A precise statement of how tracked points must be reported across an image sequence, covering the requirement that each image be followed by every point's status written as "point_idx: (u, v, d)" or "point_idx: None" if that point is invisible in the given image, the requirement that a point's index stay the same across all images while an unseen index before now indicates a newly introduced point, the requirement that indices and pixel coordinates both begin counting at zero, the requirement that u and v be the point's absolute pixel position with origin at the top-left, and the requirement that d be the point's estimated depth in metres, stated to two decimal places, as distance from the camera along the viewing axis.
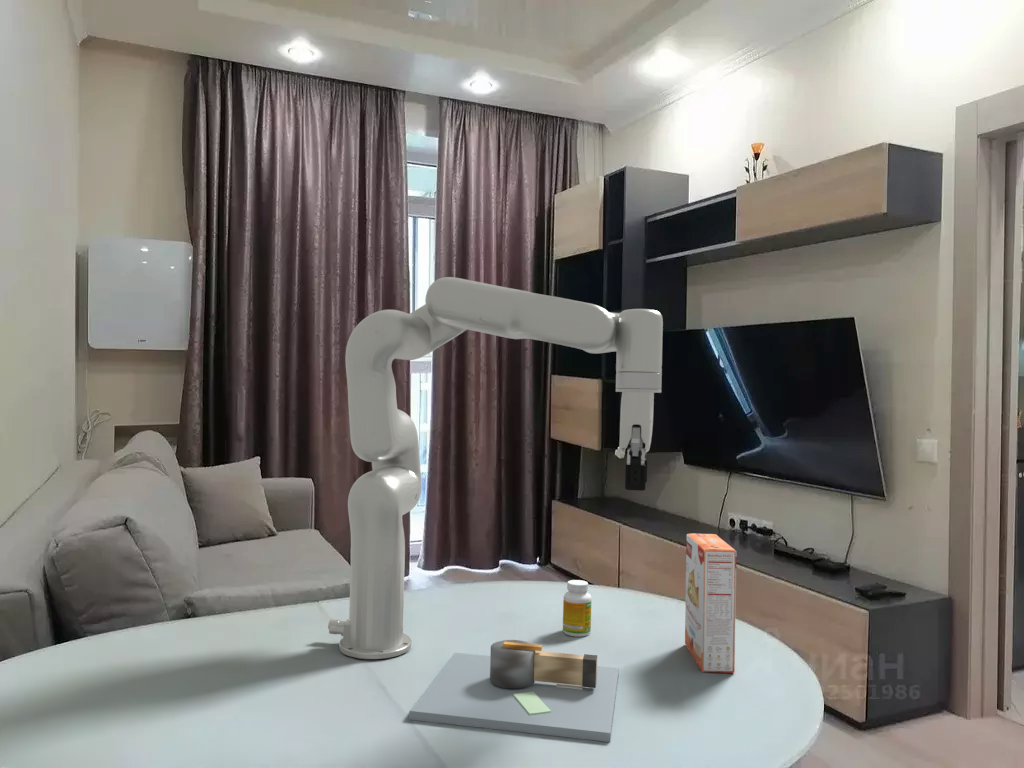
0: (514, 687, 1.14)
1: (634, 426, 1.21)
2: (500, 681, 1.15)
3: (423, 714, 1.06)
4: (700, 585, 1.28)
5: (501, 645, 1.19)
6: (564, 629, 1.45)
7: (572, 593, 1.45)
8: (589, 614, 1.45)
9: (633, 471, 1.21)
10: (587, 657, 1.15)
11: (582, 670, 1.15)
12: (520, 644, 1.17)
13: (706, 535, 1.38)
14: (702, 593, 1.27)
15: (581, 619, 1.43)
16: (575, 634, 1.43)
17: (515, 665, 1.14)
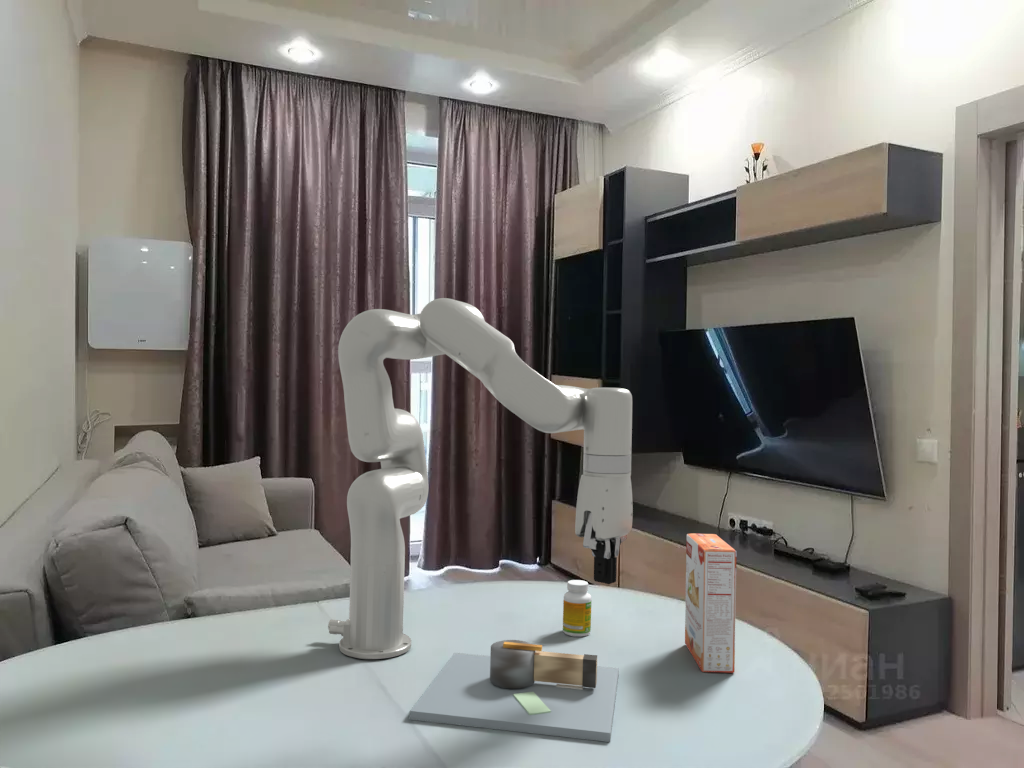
0: (514, 687, 1.14)
1: (588, 519, 1.16)
2: (500, 681, 1.15)
3: (423, 714, 1.06)
4: (700, 585, 1.28)
5: (501, 645, 1.19)
6: (564, 629, 1.45)
7: (572, 593, 1.45)
8: (589, 614, 1.45)
9: (598, 563, 1.19)
10: (587, 657, 1.15)
11: (582, 670, 1.15)
12: (520, 644, 1.17)
13: (706, 535, 1.38)
14: (702, 593, 1.27)
15: (581, 619, 1.43)
16: (575, 634, 1.43)
17: (515, 665, 1.14)
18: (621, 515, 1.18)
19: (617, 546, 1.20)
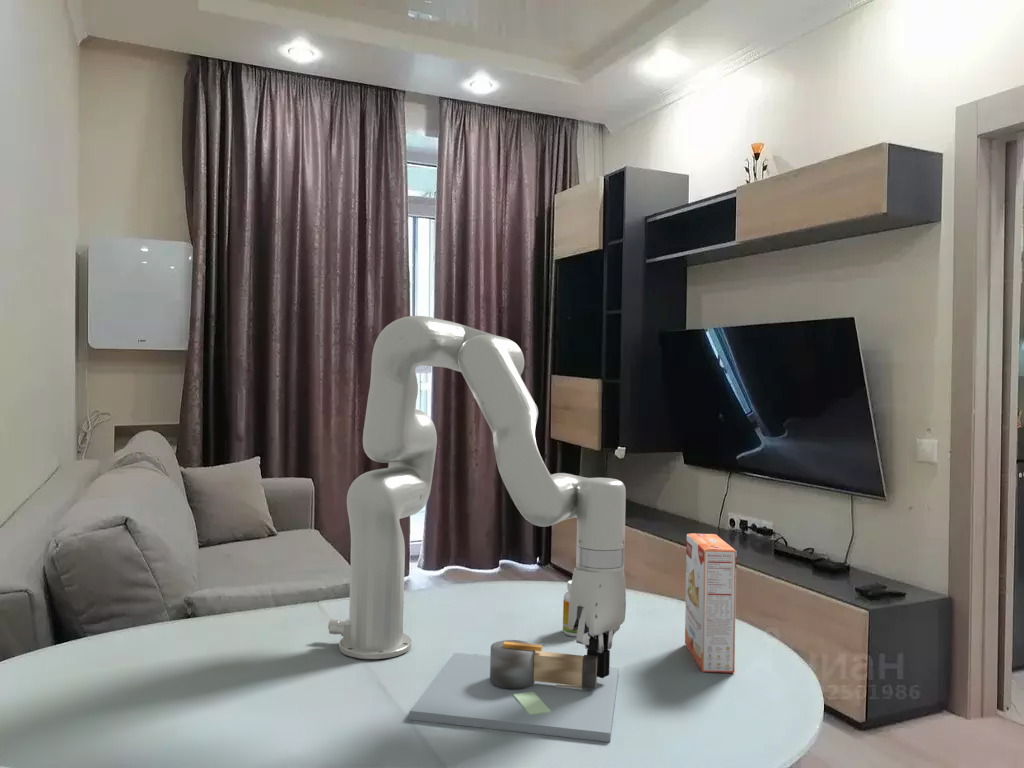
0: (513, 687, 1.14)
1: (581, 614, 1.15)
2: (500, 681, 1.15)
3: (423, 714, 1.06)
4: (700, 585, 1.28)
5: (501, 645, 1.19)
6: (564, 629, 1.45)
7: None
8: None
9: None
10: (587, 658, 1.15)
11: (582, 671, 1.15)
12: (520, 644, 1.17)
13: (706, 535, 1.38)
14: (702, 593, 1.27)
15: None
16: (575, 634, 1.43)
17: (514, 665, 1.14)
18: (614, 608, 1.18)
19: (610, 638, 1.19)
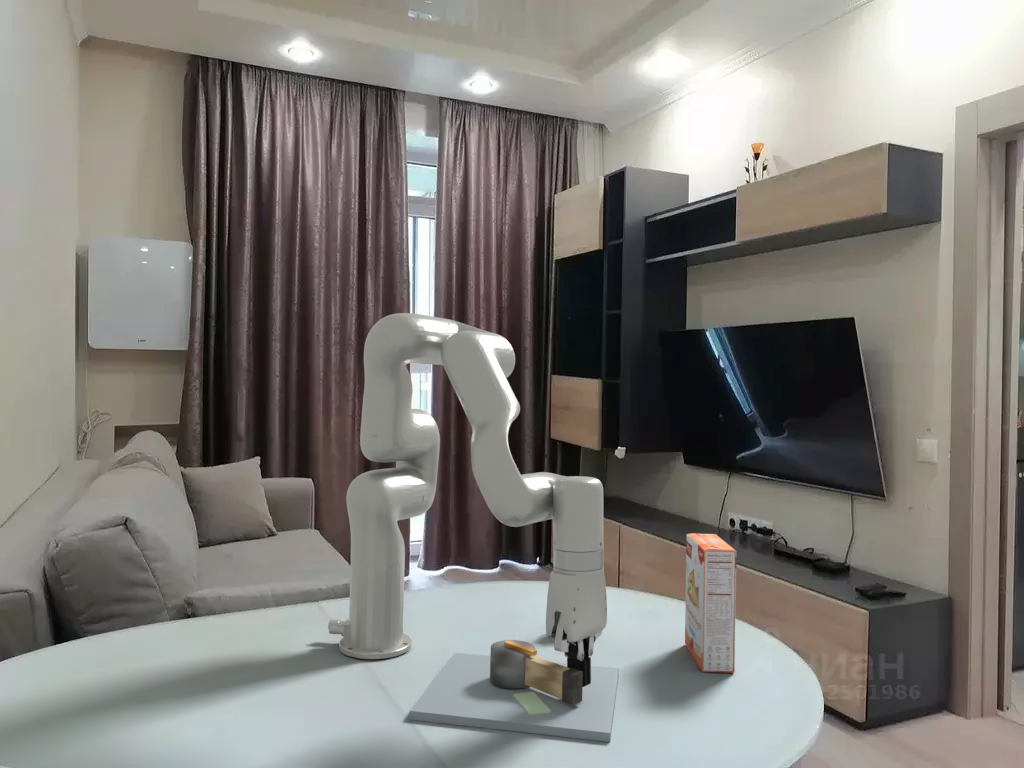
0: (501, 686, 1.15)
1: (559, 620, 1.10)
2: (492, 677, 1.16)
3: (423, 714, 1.06)
4: (700, 585, 1.28)
5: None
6: None
7: None
8: None
9: (571, 664, 1.12)
10: (569, 671, 1.10)
11: (562, 683, 1.09)
12: (518, 645, 1.17)
13: (706, 535, 1.38)
14: (702, 593, 1.27)
15: None
16: None
17: (502, 664, 1.15)
18: (594, 613, 1.12)
19: (591, 645, 1.13)
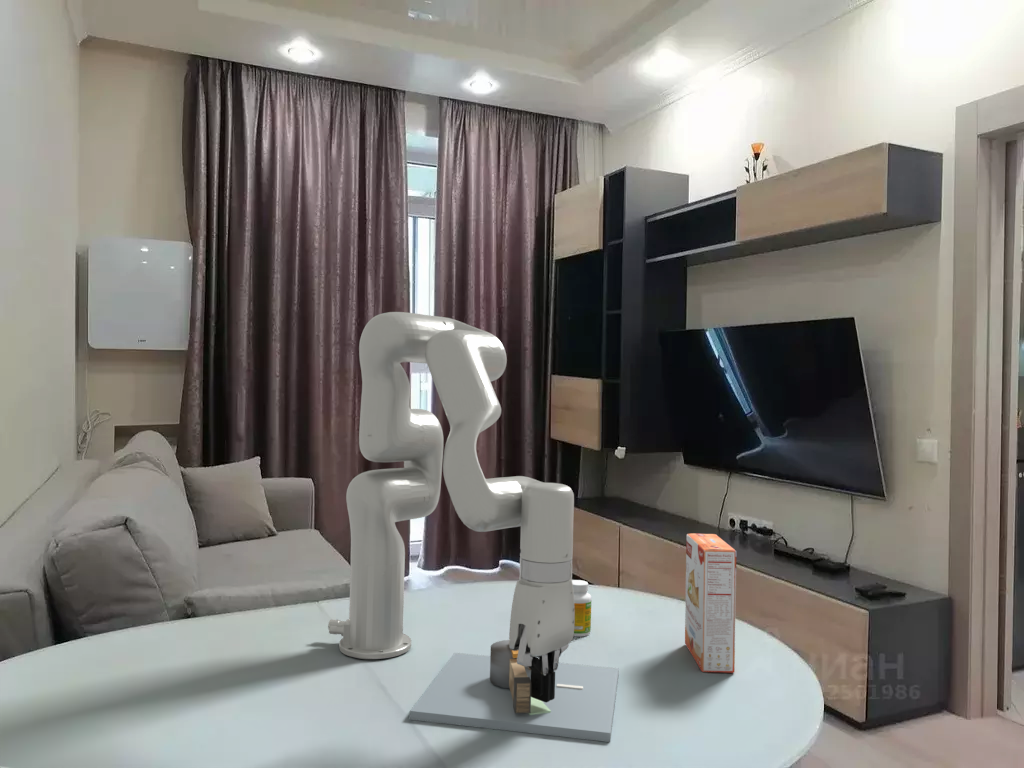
0: (491, 681, 1.16)
1: (523, 632, 1.05)
2: None
3: (423, 714, 1.06)
4: (700, 585, 1.28)
5: None
6: None
7: None
8: (589, 614, 1.45)
9: (534, 678, 1.07)
10: (520, 678, 1.06)
11: None
12: None
13: (706, 535, 1.38)
14: (702, 593, 1.27)
15: (581, 619, 1.43)
16: (575, 634, 1.43)
17: (491, 659, 1.16)
18: (560, 626, 1.07)
19: (556, 659, 1.08)
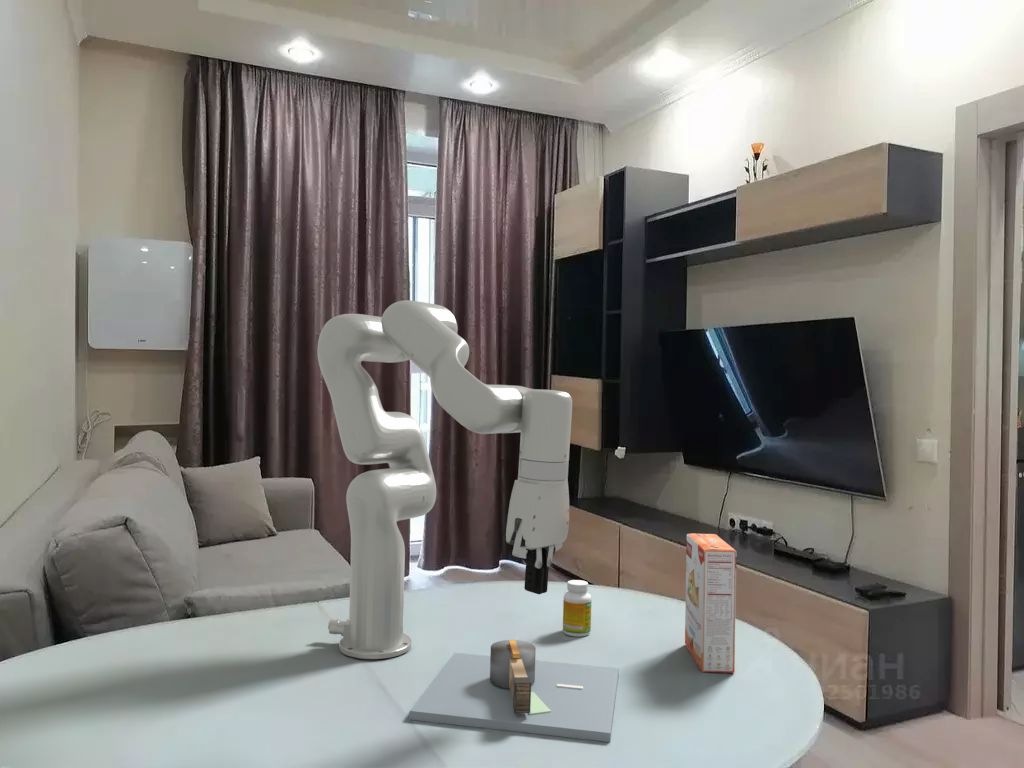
0: (491, 681, 1.16)
1: (519, 526, 1.12)
2: None
3: (423, 714, 1.06)
4: (700, 585, 1.28)
5: None
6: (564, 629, 1.45)
7: (572, 593, 1.45)
8: (589, 614, 1.45)
9: (529, 572, 1.14)
10: (520, 678, 1.06)
11: (514, 689, 1.07)
12: (513, 646, 1.17)
13: (706, 535, 1.38)
14: (702, 593, 1.27)
15: (581, 619, 1.43)
16: (575, 634, 1.43)
17: (491, 659, 1.16)
18: (555, 523, 1.14)
19: (550, 555, 1.15)
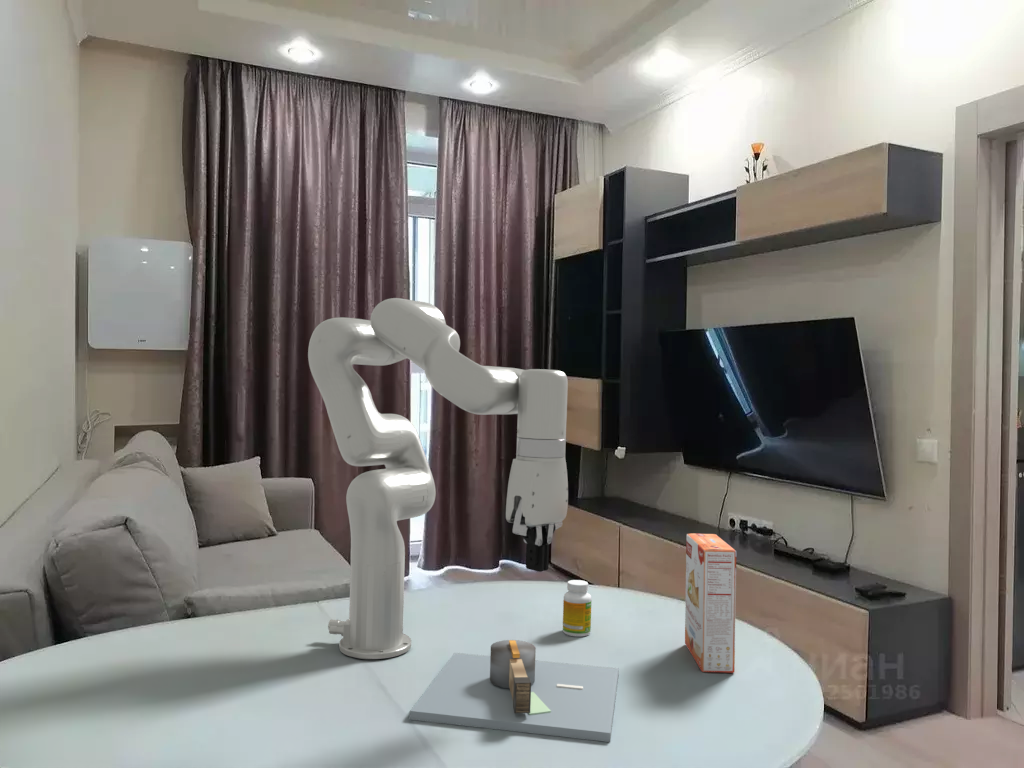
0: (491, 681, 1.16)
1: (518, 504, 1.13)
2: None
3: (423, 714, 1.06)
4: (700, 585, 1.28)
5: None
6: (564, 629, 1.45)
7: (572, 593, 1.45)
8: (589, 614, 1.45)
9: (529, 550, 1.15)
10: (520, 678, 1.06)
11: (514, 689, 1.07)
12: (513, 646, 1.17)
13: (706, 535, 1.38)
14: (702, 593, 1.27)
15: (581, 619, 1.43)
16: (575, 634, 1.43)
17: (491, 659, 1.16)
18: (554, 501, 1.15)
19: (550, 533, 1.16)
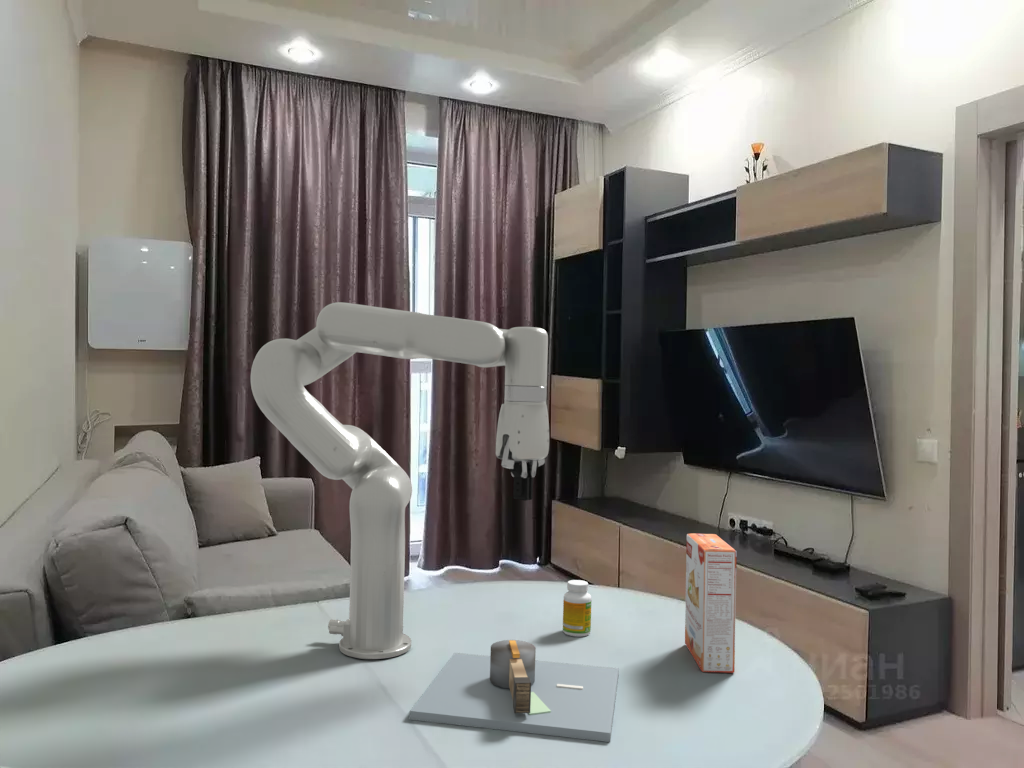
0: (491, 681, 1.16)
1: (506, 442, 1.32)
2: None
3: (423, 714, 1.06)
4: (700, 585, 1.28)
5: None
6: (564, 629, 1.45)
7: (572, 593, 1.45)
8: (589, 614, 1.45)
9: (516, 482, 1.34)
10: (520, 678, 1.06)
11: (514, 689, 1.07)
12: (513, 646, 1.17)
13: (706, 535, 1.38)
14: (702, 593, 1.27)
15: (581, 619, 1.43)
16: (575, 634, 1.43)
17: (491, 659, 1.16)
18: (537, 440, 1.34)
19: (534, 468, 1.35)
